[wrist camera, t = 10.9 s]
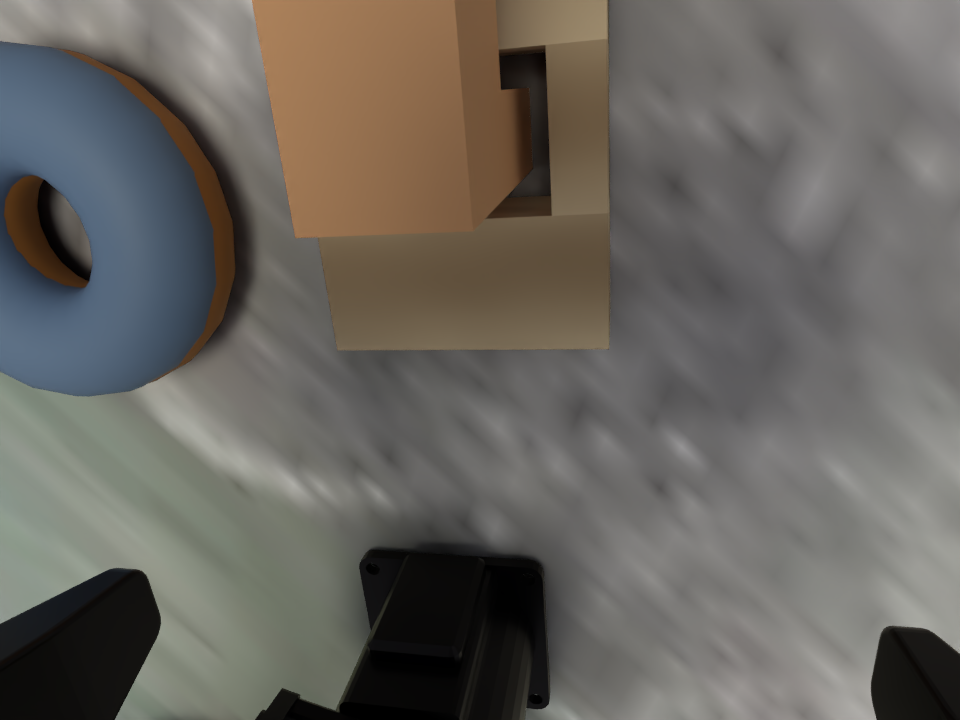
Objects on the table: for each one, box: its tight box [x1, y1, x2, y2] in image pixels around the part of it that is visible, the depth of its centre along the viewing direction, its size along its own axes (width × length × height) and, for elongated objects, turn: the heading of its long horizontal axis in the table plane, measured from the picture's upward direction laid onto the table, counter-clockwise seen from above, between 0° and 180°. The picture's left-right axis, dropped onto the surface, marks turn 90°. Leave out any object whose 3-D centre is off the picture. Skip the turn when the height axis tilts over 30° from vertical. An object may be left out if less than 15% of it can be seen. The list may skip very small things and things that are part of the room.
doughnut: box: [0, 41, 235, 396], centre depth 19 cm, size 10×10×5 cm
